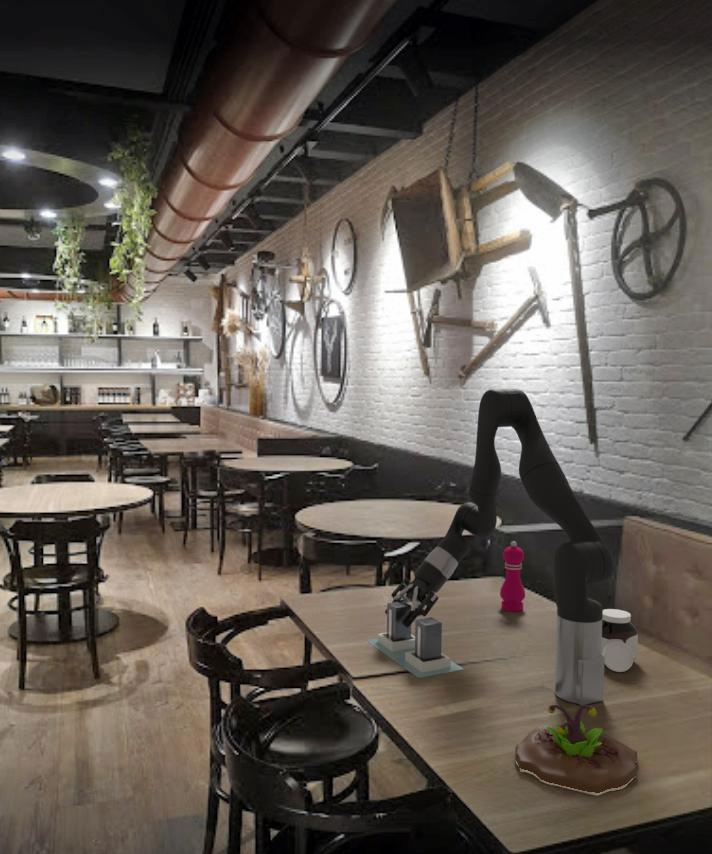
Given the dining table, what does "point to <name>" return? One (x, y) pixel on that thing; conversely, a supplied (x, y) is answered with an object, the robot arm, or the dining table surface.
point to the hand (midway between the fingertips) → (395, 620)
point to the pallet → (412, 657)
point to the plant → (576, 755)
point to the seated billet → (428, 639)
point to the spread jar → (618, 640)
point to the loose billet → (397, 621)
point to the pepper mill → (512, 579)
